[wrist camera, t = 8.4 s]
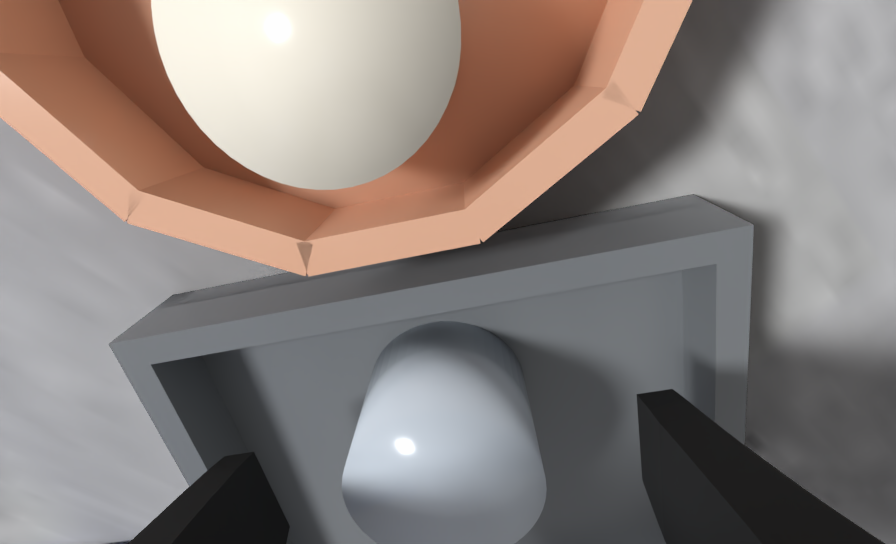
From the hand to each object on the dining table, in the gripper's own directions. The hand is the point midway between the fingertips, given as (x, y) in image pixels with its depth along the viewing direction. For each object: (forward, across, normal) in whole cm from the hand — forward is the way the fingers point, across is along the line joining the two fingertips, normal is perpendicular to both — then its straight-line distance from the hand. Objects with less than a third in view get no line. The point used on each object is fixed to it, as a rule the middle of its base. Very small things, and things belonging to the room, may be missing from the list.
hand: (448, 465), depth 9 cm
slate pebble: (+2, 0, 0) cm, 2 cm away
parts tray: (+3, 0, +2) cm, 4 cm away
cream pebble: (+2, 0, -7) cm, 8 cm away
